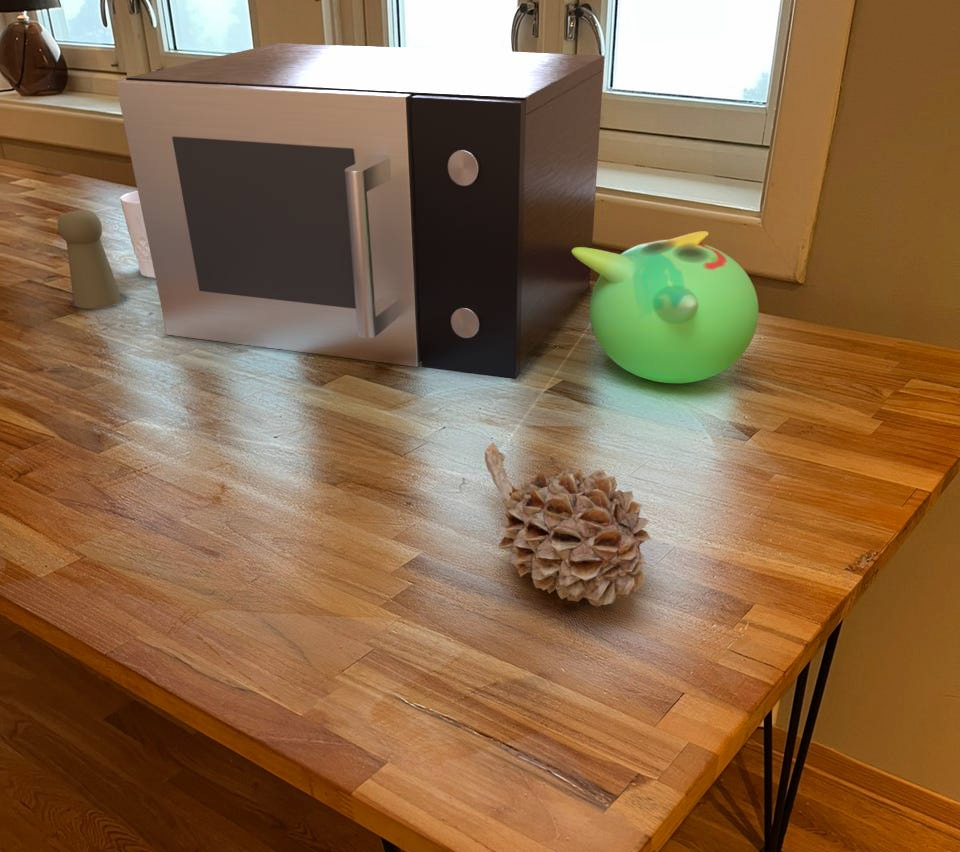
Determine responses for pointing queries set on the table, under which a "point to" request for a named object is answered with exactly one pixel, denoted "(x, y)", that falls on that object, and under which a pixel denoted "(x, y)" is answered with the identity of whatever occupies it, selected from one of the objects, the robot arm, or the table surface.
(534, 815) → the table surface
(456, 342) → the microwave
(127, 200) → the white cup
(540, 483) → the pine cone
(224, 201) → the microwave door
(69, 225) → the tan game pawn
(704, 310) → the toy bird
